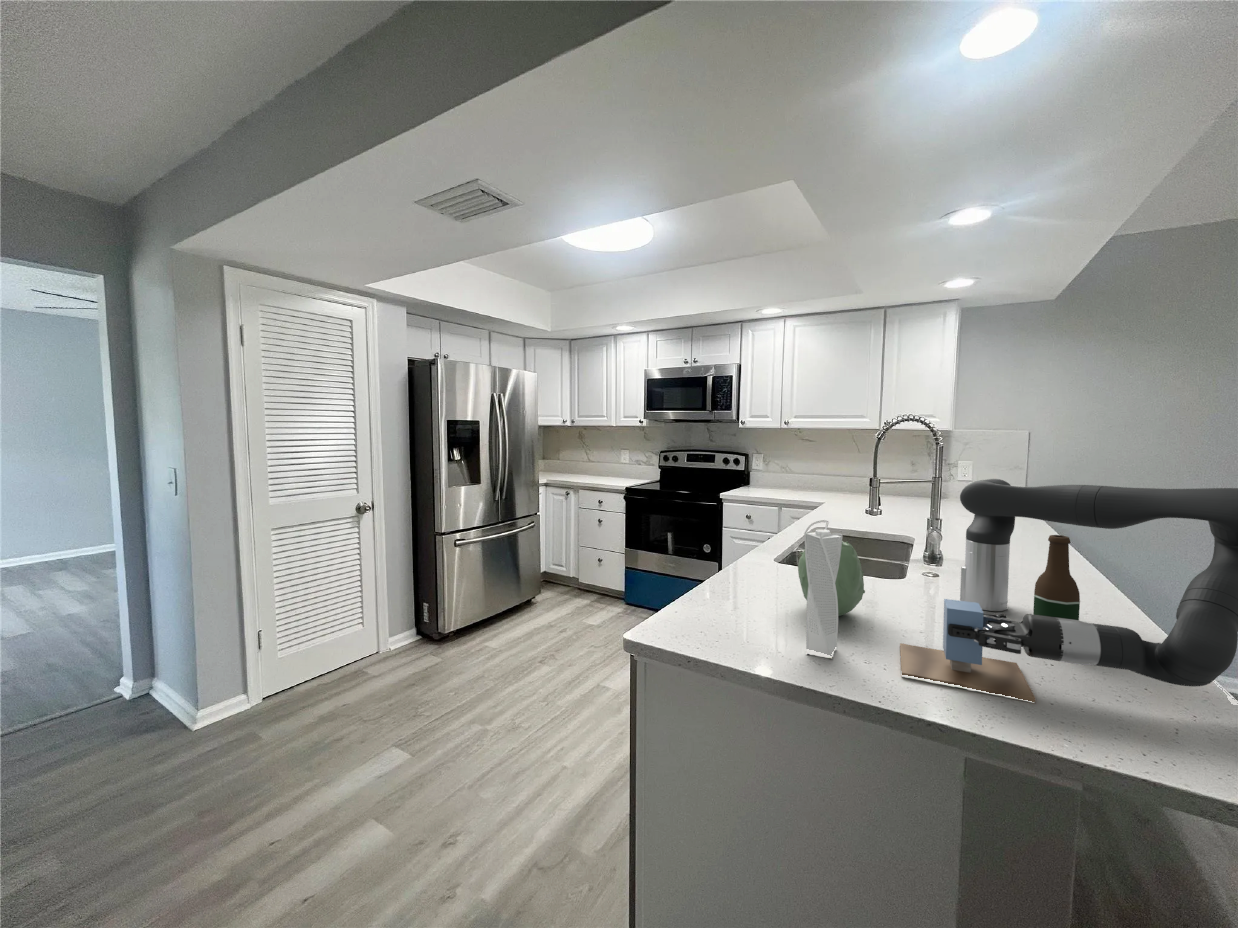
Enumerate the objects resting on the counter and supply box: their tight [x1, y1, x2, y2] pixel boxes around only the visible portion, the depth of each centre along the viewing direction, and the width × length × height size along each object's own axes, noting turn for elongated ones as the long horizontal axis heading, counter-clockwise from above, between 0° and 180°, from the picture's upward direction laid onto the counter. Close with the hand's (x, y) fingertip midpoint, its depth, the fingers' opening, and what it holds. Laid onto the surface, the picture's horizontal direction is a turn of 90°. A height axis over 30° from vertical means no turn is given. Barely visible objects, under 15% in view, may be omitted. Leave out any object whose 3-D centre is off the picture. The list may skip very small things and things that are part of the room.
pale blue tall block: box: [942, 598, 984, 665], centre depth 95 cm, size 6×6×10 cm
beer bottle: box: [1032, 534, 1081, 621], centre depth 105 cm, size 8×8×24 cm
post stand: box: [899, 642, 1036, 703], centre depth 96 cm, size 20×14×8 cm
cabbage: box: [797, 540, 866, 617], centre depth 126 cm, size 16×19×20 cm
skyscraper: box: [803, 519, 843, 656], centre depth 105 cm, size 8×8×28 cm
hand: (947, 623), depth 96 cm, fingers closed on pale blue tall block, 5 cm apart
